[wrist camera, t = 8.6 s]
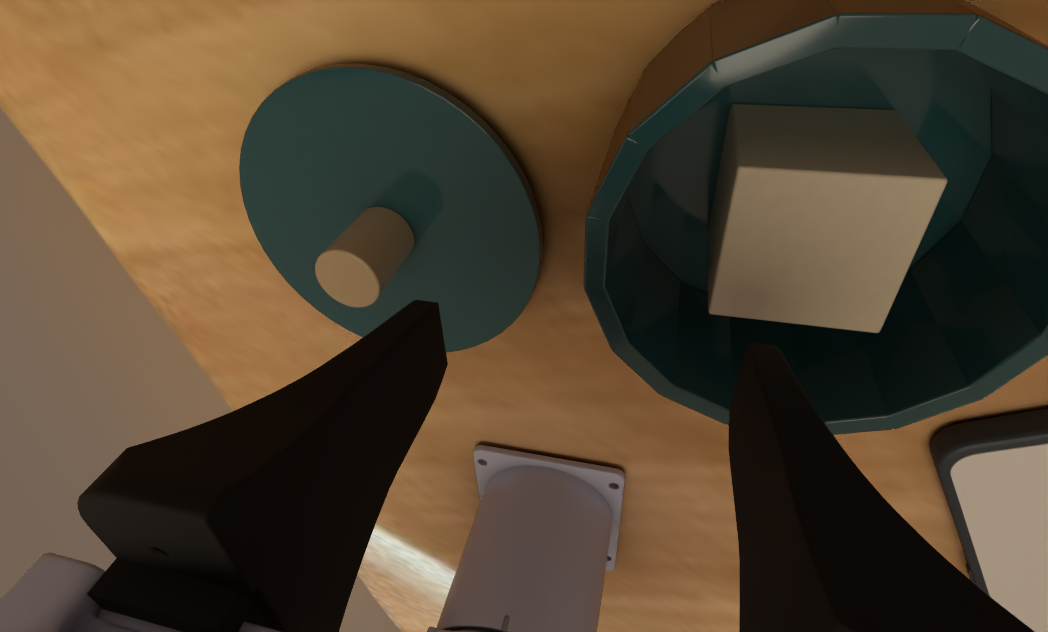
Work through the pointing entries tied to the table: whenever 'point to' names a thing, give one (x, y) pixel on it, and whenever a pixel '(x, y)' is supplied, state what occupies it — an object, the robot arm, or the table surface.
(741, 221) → the block
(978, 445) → the phone case
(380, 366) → the robot arm
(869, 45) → the canister
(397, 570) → the table surface
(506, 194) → the lid
